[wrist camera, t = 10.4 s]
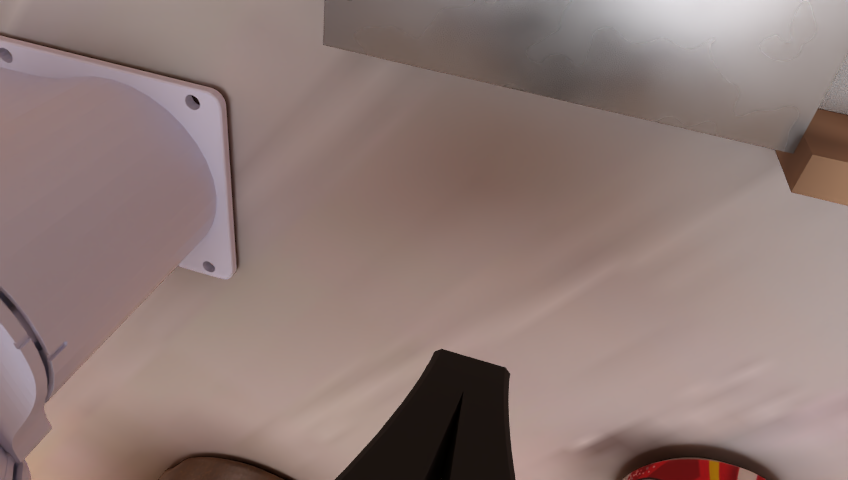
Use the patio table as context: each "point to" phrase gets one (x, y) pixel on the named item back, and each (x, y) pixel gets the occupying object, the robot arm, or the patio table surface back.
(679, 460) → the soda can
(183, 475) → the plant pot
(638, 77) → the grey plate
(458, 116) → the patio table surface
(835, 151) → the box
